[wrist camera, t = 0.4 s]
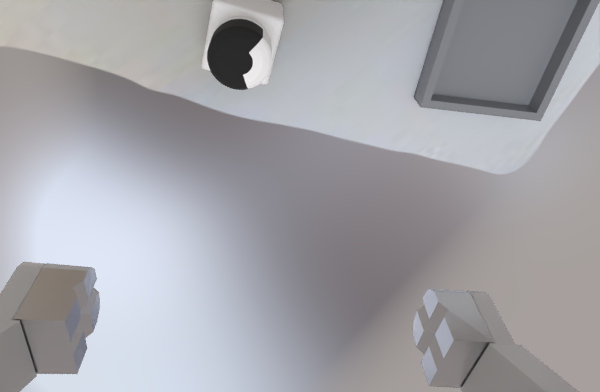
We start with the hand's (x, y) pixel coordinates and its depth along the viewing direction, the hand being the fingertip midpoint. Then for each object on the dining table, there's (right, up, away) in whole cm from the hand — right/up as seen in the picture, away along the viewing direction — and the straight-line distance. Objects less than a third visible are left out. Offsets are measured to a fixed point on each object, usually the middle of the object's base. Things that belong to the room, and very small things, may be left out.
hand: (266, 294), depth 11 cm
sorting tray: (+24, +21, +43) cm, 54 cm away
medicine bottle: (-5, +22, +41) cm, 46 cm away
